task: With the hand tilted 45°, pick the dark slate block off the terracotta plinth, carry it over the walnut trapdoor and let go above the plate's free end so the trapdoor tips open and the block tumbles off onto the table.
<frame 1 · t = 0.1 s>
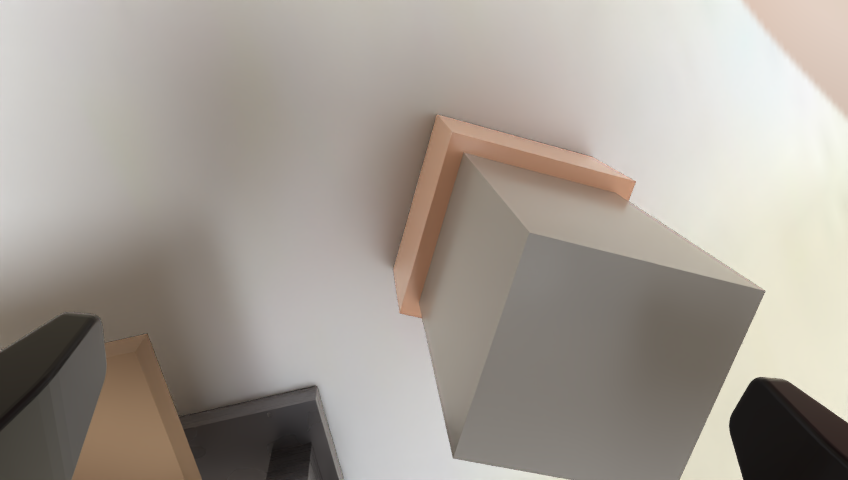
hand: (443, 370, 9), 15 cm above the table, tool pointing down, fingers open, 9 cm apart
slate block: (515, 248, 21), point 4 cm above the table, touching plinth
plinth: (491, 213, 25), on the table
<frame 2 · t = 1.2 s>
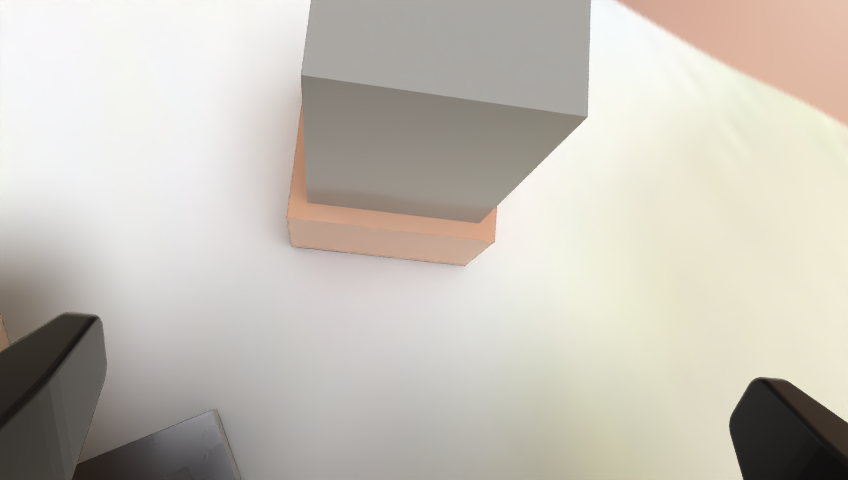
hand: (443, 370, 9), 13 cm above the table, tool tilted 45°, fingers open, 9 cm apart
slate block: (402, 131, 20), point 4 cm above the table, touching plinth
plinth: (387, 173, 23), on the table
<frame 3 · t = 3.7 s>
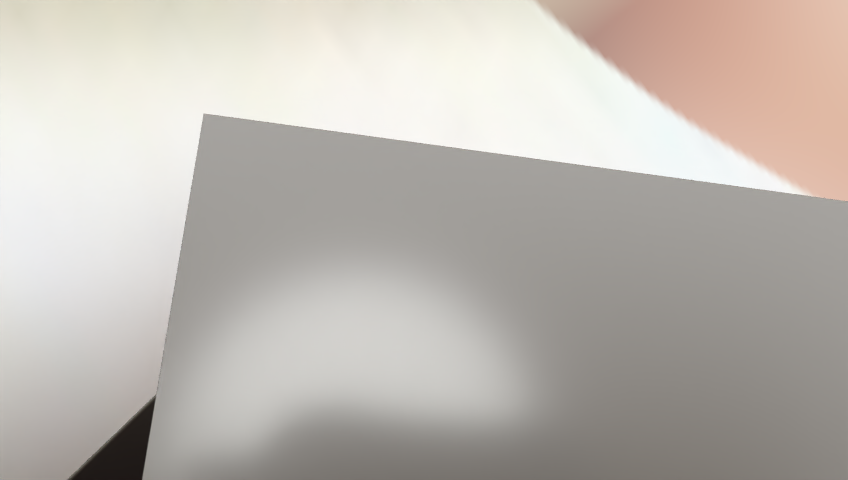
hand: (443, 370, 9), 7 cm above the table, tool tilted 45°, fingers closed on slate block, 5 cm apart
slate block: (409, 456, 11), point 4 cm above the table, touching gripper, plinth
when the fingers open (13 cm above the table, at t = 8.8 s): slate block drops 8 cm and tips over, point 2 cm above the table.
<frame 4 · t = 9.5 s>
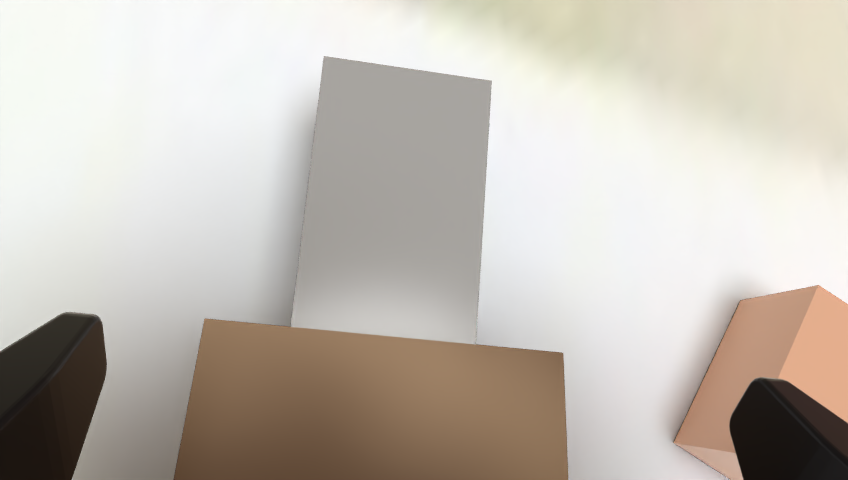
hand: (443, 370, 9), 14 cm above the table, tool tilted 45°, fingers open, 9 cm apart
slate block: (376, 347, 20), point 2 cm above the table, tilted 90°
plinth: (776, 413, 24), on the table
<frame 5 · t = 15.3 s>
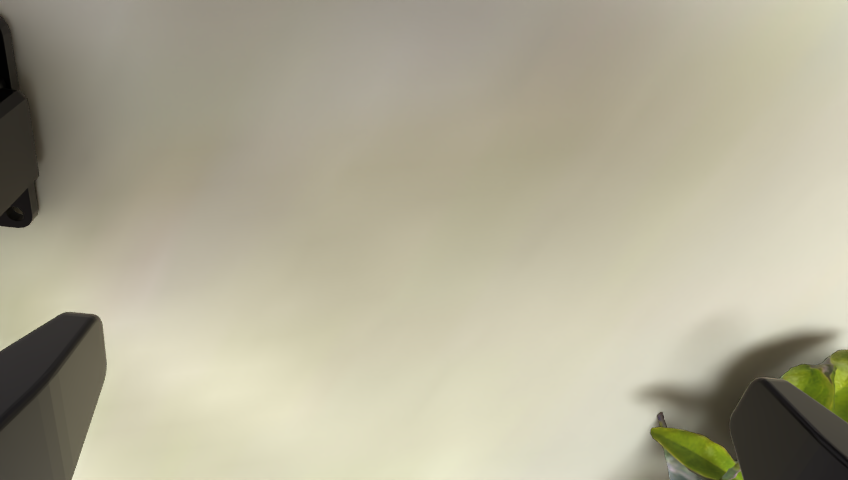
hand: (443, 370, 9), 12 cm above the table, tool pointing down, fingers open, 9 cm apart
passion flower: (723, 437, 29), on the table
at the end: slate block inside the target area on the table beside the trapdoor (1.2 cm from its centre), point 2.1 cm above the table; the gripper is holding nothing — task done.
